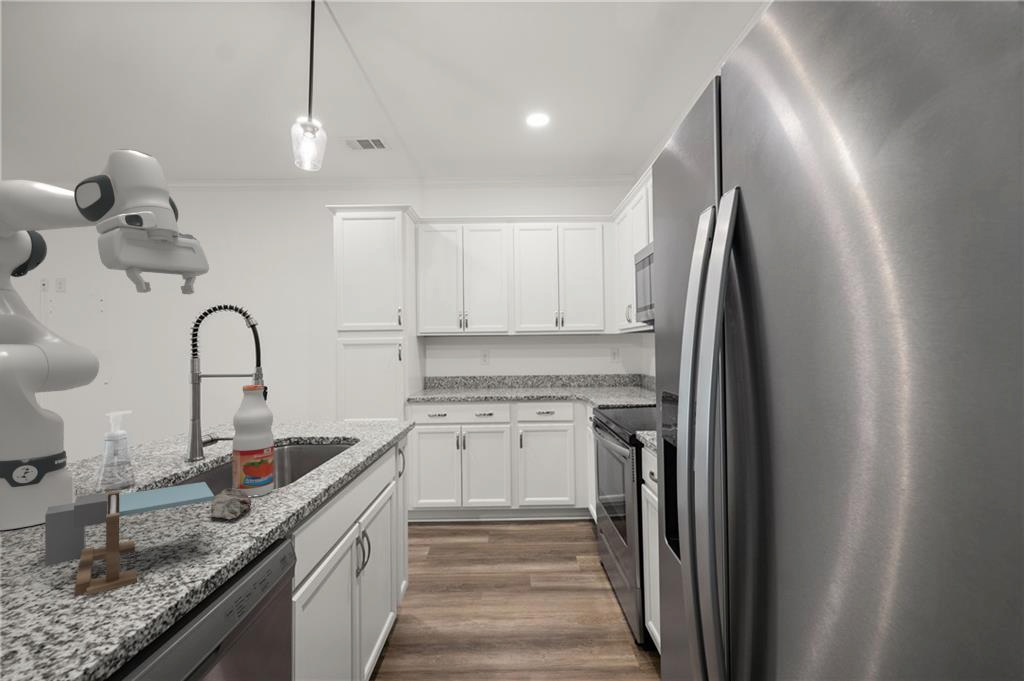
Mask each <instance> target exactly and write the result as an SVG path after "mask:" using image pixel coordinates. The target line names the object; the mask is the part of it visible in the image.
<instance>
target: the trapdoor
mask: <svg viewBox="0 0 1024 681" xmlns="http://www.w3.org/2000/svg"><path fill="white" fill-rule="evenodd" d="M108 493H109V492H102V493H95V494H87V495H81V496H77V497H76V501H75V504H74V526H73V528H78V527H84V526H86V527H88V526H95V525H100V524H106V515H108ZM214 497H215V495H214V494H213V492H212V490H211V489H210V488H209V486H208V484H207V483H206V481H201V482H193V483H186V484H181V485H174V486H169V487H160V488H154V489H148V490H141V491H133V492H127V493H121V494H120V493H119V518H120V517H126V516H132V515H137V514H142V513H149V512H154V511H160V510H166V509H171V508H172V509H173V508H177V507H183V506H190V505H195V504H201V503H206V502H211V501H213V500H214ZM114 513H116V495H112V496H111V501H110V514H114Z"/></svg>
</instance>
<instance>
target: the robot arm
mask: <svg viewBox="0 0 1024 681" xmlns="http://www.w3.org/2000/svg"><path fill="white" fill-rule="evenodd" d="M178 220H179V210H178V206H177V204H176V202H175V201H174V200H173V199H172V197H171V196H170V191H169V186H168V183H167V180H166V176H165V174H164V171H163V169H162V166H161V164H160V162H159V161H158V160H157V158H156V157H155V156H152V155H151V154H148V153H145V152H142V151H140V150H134V149H128V148H127V149H126V148H119V149H115V150H113V151H111V152H110V154H109V155H108V159H107V163H106V165H105V166H104V167H103V168H102V169H101V170H100V171H99V172H98V173H95V175H94V176H90V177H87V178H85V179H83V180H82V181H80V182H79V183H78V184H77V185H76V187H75V189H74V191H73V190H69V189H66V188H63V187H60V186H56V185H52V184H48V183H46V182H45V183H44V182H41V181H34V180H27V179H8V180H5V179H4V180H0V531H6V530H14V529H21V528H25V527H32V526H35V525H36V526H37V525H40V524H45V514H46V512H47V510H48V507H52V506H58V505H64V504H71V503H75V501H76V497H78V495H77V493H78V491H77V489H76V488H75V475H74V474H72V472H69V471H68V470H67V469H66V467H67V460H68V456H67V452H66V450H64V447H65V446H64V444H65V443H64V442H65V438H64V436H65V435H64V434H65V432H64V430H65V426H64V425H65V424H64V423H65V421H64V419H63V418H62V417H61V416H60V414H58V413H56V412H55V411H54V410H53V411H52V410H49V409H47V408H43V407H42V406H40V404H39V402H38V401H37V398H36V393H37V394H38V393H49V392H59V391H60V392H62V391H69V390H73V389H76V388H80V387H81V388H82V387H84V386H87V385H90V384H91V383H92V382H94V380H95V379H96V378H97V376H98V374H99V371H100V361H99V359H98V357H97V355H96V354H95V352H93V351H92V350H91V349H89V348H87V347H85V346H81V345H78V344H76V343H73V342H71V341H69V340H67V339H66V338H64V337H62V336H61V335H59V334H57V333H56V332H54V331H52V330H51V329H50V328H48V327H46V326H45V325H44V324H43V323H42V322H40V320H38V318H37V317H36V316H34V314H33V313H32V311H31V310H30V308H29V306H28V305H26V302H25V301H24V300H23V299H22V297H21V295H20V294H19V292H17V290H16V289H15V288H14V286H13V284H12V282H11V277H13V278H20V277H25V276H26V275H27V274H28V272H31V271H33V270H34V269H36V268H37V267H38V266H40V265H41V264H42V263H43V262H44V260H45V259H46V256H47V255H48V254H47V253H48V246H47V242H46V241H45V238H44V237H43V235H42V234H41V233H39V231H49V230H61V229H72V228H83V227H84V228H85V227H86V228H87V227H95V229H96V232H97V233H99V236H98V238H97V248H98V253H99V258H100V261H101V264H102V265H103V266H104V267H105V268H106V269H108V270H113V271H114V270H115V271H116V270H119V271H125V275H126V276H127V277H128V279H129V280H130V281H131V282H132V283H133V284H134V285H135V288H136V292H137V293H145V294H147V293H149V292H151V290H152V288H151V285H150V282H147V281H145V280H144V278H143V277H142V276H141V274H142V273H154V274H155V273H156V274H165V275H166V274H167V275H168V274H169V275H176V276H177V275H178V276H179V275H180V276H182V279H183V280H185V281H184V285H181V286H180V290H181V294H182V295H192V294H195V288H194V284H195V281H196V278H197V277H199V276H203V275H205V274H207V273H208V272H209V269H210V266H209V265H210V264H209V262H208V259H207V256H206V254H205V251H204V249H203V246H202V245H201V243H200V241H199V240H198V239H197V238H196V237H195V236H193V234H188V233H182V232H179V228H178V224H177V222H178Z"/></svg>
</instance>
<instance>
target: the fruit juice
mask: <svg viewBox="0 0 1024 681" xmlns="http://www.w3.org/2000/svg"><path fill="white" fill-rule="evenodd" d="M264 391H265V385H263V384H250V385H249V384H248V385H243V386H242V393H243V397H242V400H241V403H240V406H239V408H238V410H237V411H236V412H235V414H234V415H233V419H232V420H233V422H232V423H233V424H232V425H233V427H234V430H235V431H234V435H233V439H232V447H231V448H232V488H234V489H238V490H243V491H244V492H245V493H246V495H247V496H254V495H258V496H254V497H248V498H249V499H250V498H257V497H261V496H265V495H268V494H271V492H273V490H274V486H275V476H274V474H275V469H274V468H275V467H274V466H275V465H274V464H275V463H274V462H275V460H274V458H275V457H274V456H275V454H274V452H275V450H274V447H275V445H274V444H275V440H274V434H273V432H272V425H273V422H274V418H273V417H274V415H273V412H272V411H271V410H270V408H269V406H268V404H267V402H266V400H265V396H264ZM267 493H268V494H267ZM261 494H262V495H261Z"/></svg>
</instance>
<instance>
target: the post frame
mask: <svg viewBox="0 0 1024 681" xmlns="http://www.w3.org/2000/svg"><path fill="white" fill-rule="evenodd" d="M112 495H116V513H114V514H110V501H111V496H112ZM119 495H120V491H119V490H117V491H111V492H108V500H107V515H106V523H105V546H102V547H97V548H95V547H94V546H92V547H86V548H85V549H82V552H81V557H80V559H79V564H78V570H77V573H76V579H75V585H74V587H75V588H74V590H75V595H74V596H79V595H83V594H86V596H92V595H94V594H95V595H96V594H99V593H103V592H105V591H109V590H113V589H117V588H122V587H126V586H129V585H132V584H137V583H138V573H137V571H138V570H137V568H133V569H129V570H125V571H121V572H120V555H124V554H130V553H133V552H135V551H136V550H135V549H136V547H135V540H130V541H125V542H120V517H119ZM129 552H130V553H129ZM103 559H105V576H101V577H98V578H92V573H93V567H94V566H93V565H94V561H93V560H95V561H99V560H103Z"/></svg>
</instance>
